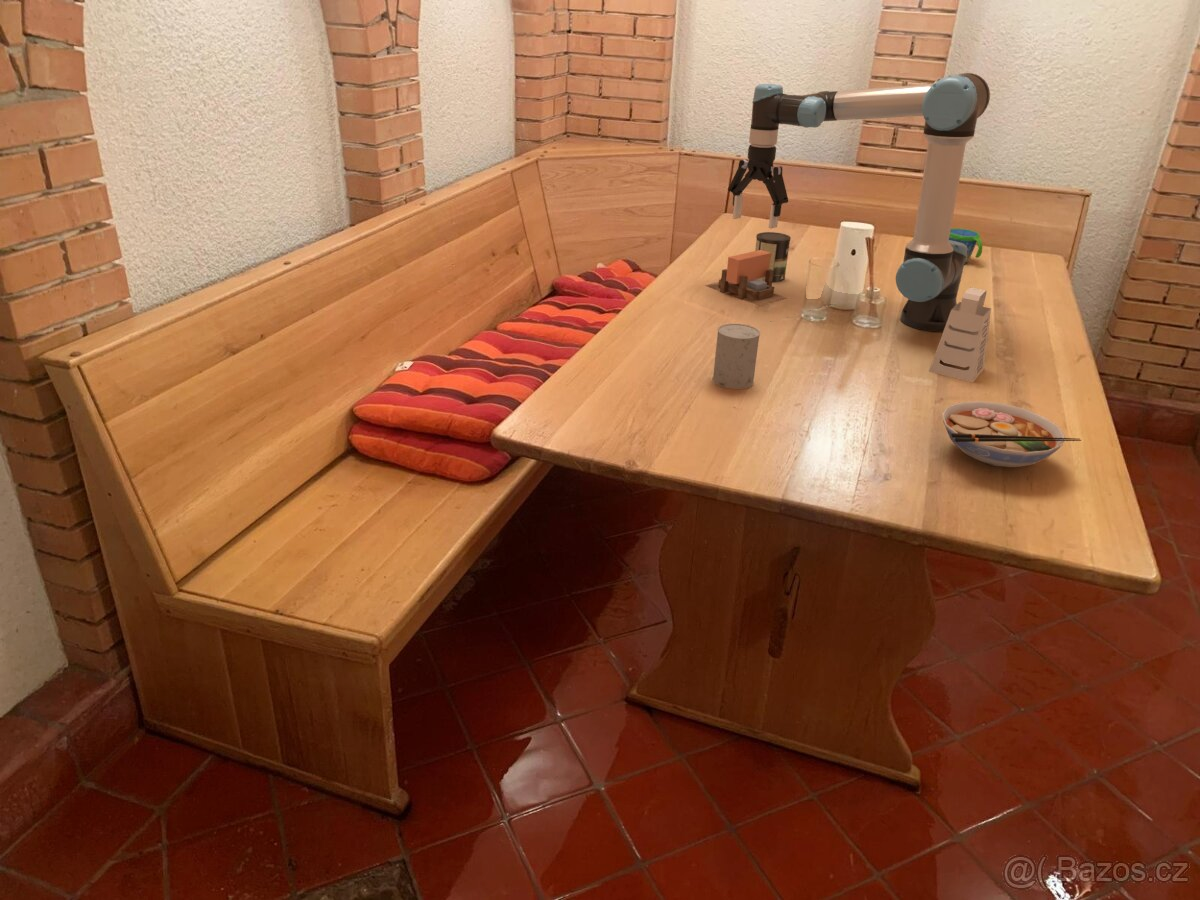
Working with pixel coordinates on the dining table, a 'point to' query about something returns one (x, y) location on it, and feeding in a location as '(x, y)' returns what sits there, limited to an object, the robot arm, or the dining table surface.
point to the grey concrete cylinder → (736, 356)
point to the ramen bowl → (1002, 433)
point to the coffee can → (775, 252)
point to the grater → (964, 338)
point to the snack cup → (967, 240)
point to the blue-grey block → (756, 285)
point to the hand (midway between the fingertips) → (754, 223)
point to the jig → (748, 289)
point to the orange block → (748, 266)
